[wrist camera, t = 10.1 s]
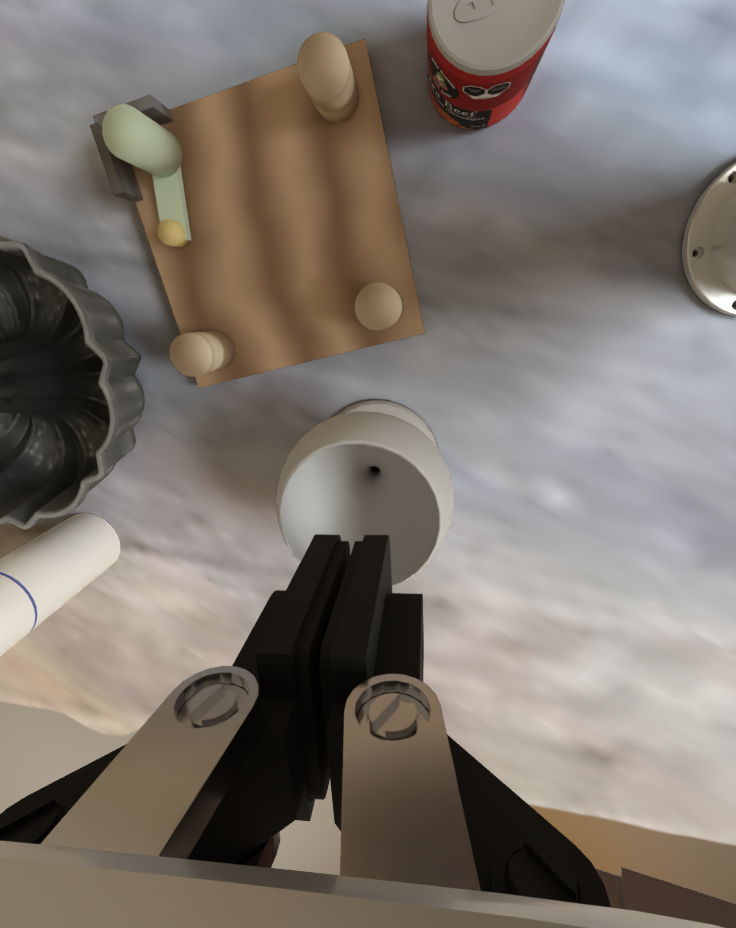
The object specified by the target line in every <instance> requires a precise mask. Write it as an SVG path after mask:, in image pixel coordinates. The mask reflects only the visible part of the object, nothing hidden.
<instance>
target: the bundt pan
mask: <svg viewBox="0 0 736 928" xmlns="http://www.w3.org/2000/svg"><path fill="white" fill-rule="evenodd" d="M140 359H141V356H140V354H139V353H138V352H136V351H135V350H134V349H133V348H132V347H131V346H130V345H128V344H127V343H126V342H125V341H124V327H123V323H122V321H121V318H120V316H119V314H118V313H117V311H116V310H115V308H114V307H113V306H112V305H111V304H110V303H109V302H108V301H107V300H106V299H104V298H103V297H102V296H100V295H99V294H97V293H95V292H93V291H91V290H89V289H88V286H87V283H86V280H85V278H84V276H83V275H82V273H81V272H80V271H79V270H78V269H77V268H75V267H73V266H72V265H70V264H67V263H64V262H62V261H59V260H56V259H53V258H50V257H47V256H44V255H42V254H41V253H39V252H38V251H36V250H34V249H32V248H30V247H29V246H28V245H27V244H25V243H21V242H17V241H12V240H9V239H6V238H4V237H1V236H0V525H1V524H4V523H10V524H13V525H15V526H17V527H19V528H21V529H25V530H26V529H30V528H31V527H33V526H34V525H35V524H36V523H37V522H38V521H39V520H40V519H41V518H46V519H49V518H57V517H61V516H63V515H66V514H67V513H69V512H71V511H72V510H74V509H75V508H77V507H78V506H79V505H80V504H81V503H82V501H83V500H84V498H85V497H86V494H87V493H88V492H89V491H90V490H91V489H92V488H94V487H95V486H96V485H97V484H98V483H100V482H101V481H102V480H103V479H104V478H105V477H106V476H108V475H109V473H110V472H111V471H112V470H113V468H114V466H115V464H116V462H117V461H119V460H120V459H121V458H123V457H124V456H125V455H126V454H128V453H129V452H130V451H131V450H132V449H133V448H134V446H135V442H136V439H135V434H134V430H133V426H134V425H135V424H136V423H137V422H138V420H139V418H140V417H141V415H142V412H143V409H144V392H143V389H142V386H141V384H140V382H139V381H138V379H137V378H136V377H135V372H136V370H137V367H138V364H139V362H140Z"/></svg>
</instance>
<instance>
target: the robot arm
mask: <svg viewBox="0 0 736 928" xmlns="http://www.w3.org/2000/svg"><path fill="white" fill-rule="evenodd" d="M728 177H730V179H731V181H730V183H729V181H728ZM693 250H694V251H695V256H694V257H693V255H692V253H693ZM682 261H683V266H684V271H685V275H686V277H687V279H688V282H689V284H690V286H691V288H692V289H693V291H694V292H695V293H696V294H697V296H698V297H699V298H700V299H701V300H702V301H703V302H705V303H706V304H707V305H708V306H709V307H711V308H713V309H715V310H717V311H719V312H721V313H724V314H728V315H732V316H736V162H735V163H734V164H732V165H731V166H729V167H728V168H726V169H725V170H724V171H723V172H722V173H721V174H720V175H719V176H718V177H716V178H715V179H714V180H713V181H712V182H711V183H710V185H709V186H708V187H707V188H706V190H705V191H704V192H703V194H702V195H701V196H700V198H699V199H698V201H697V203H696V205H695V206H694V208H693V210H692V212H691V214H690V217H689V220H688V222H687V225H686V228H685V232H684V238H683V243H682ZM733 302H734V306H733V307H732V303H733ZM423 661H424V637H423V595H422V594H401V593H392V575H391V551H390V537H389V535H364V538H363V541H355V543H354V546H353V549H352V552H351V555H350V544H349V541H341V537H340V535H327V534H315V535H314V537H313V539H312V541H311V543H310V545H309V547H308V549H307V551H306V553H305V555H304V557H303V558H302V560H301V562H300V564H299V566H298V568H297V570H296V572H295V574H294V576H293V578H292V580H291V582H290V584H289V586H288V588H287V590H286V591H279V590H277V591H274V592H273V594H272V595H271V596H270V598H269V600H268V602H267V604H266V606H265V607H264V609H263V611H262V613H261V615H260V616H259V618H258V620H257V622H256V624H255V626H254V627H253V629H252V631H251V633H250V635H249V636H248V638H247V640H246V642H245V644H244V646H243V647H242V649H241V651H240V653H239V655H238V656H237V658H236V660H235V662H234V664H233V666H220V667H214V668H209V669H207V670H204V671H201V672H199V673H196V674H194V675H193V676H191V677H189V678H188V679H186V680H184V681H183V682H182V683H181V684H180V685H179V686H178V687H176V688H175V689H174V690H173V691H172V692H171V694H170V695H169V696H168V697H167V698H166V699H165V701H164V702H163V703H162V704H161V705H160V706H159V707H158V709H157V710H156V711H155V712H154V713H153V714H152V716H151V717H150V718H149V719H148V720H147V721H146V723H145V724H144V725H143V726H142V727H141V728H140V729H139V731H138V732H137V733H136V734H135V735H134V736H133V738H132V739H131V740H130V741H129V742H128V743H127V744H126V745H124V746H122V747H120V748H118V749H116V750H115V751H113V752H111V753H109V754H107V755H105V756H103V757H101V758H99V759H97V760H95V761H93V762H91V763H90V764H88V765H86V766H84V767H82V768H80V769H78V770H76V771H74V772H72V773H70V774H68V775H66V776H65V777H63V778H61V779H59V780H57V781H55V782H53V783H51V784H49V785H48V786H45V787H43V788H41V789H40V790H38V791H36V792H34V793H32V794H30V795H28V796H26V797H25V798H23V799H21V800H20V801H18V802H17V803H15V804H14V805H12V806H10V807H9V808H7V809H6V810H5V811H4V812H3V813H1V814H0V928H736V904H734V903H731V902H728V901H725V900H722V899H719V898H716V897H713V896H710V895H706V894H703V893H700V892H697V891H694V890H691V889H688V888H684V887H682V886H679V885H675V884H672V883H669V882H666V881H663V880H660V879H657V878H654V877H651V876H647V875H644V874H641V873H638V872H635V871H632V870H629V869H626V868H623V867H621V871H620V876H617V875H613V874H610V873H608V872H604V871H602V870H598V869H595V868H594V866H593V864H592V863H591V862H590V861H589V859H588V858H587V857H586V856H585V855H584V854H583V853H582V852H581V851H580V850H579V849H578V848H577V847H576V846H575V845H574V844H573V843H572V842H571V841H570V840H569V839H567V838H566V837H565V836H564V835H563V834H562V833H560V832H559V831H558V830H557V829H556V828H555V827H554V826H552V825H551V824H550V823H549V822H548V821H547V820H545V819H544V818H543V817H542V816H541V815H540V814H538V813H537V812H536V811H535V810H534V809H533V808H532V807H530V806H529V805H528V804H527V803H526V802H525V801H523V800H522V799H521V798H520V797H519V796H518V795H516V794H515V793H514V792H513V791H512V790H511V789H510V788H508V787H507V786H506V785H505V784H504V783H503V782H501V781H500V780H499V779H498V778H497V777H496V776H494V775H493V774H492V773H491V772H490V771H489V770H488V769H486V768H485V767H484V766H483V765H482V764H481V763H479V762H478V761H477V760H476V759H475V758H474V757H473V756H471V755H470V754H469V753H468V752H467V751H466V750H464V749H463V748H462V747H461V746H460V745H459V744H457V743H456V742H455V741H454V740H453V739H452V738H451V737H449V736H448V735H447V732H446V728H445V723H444V719H443V714H442V709H441V705H440V703H439V700H438V698H437V696H436V694H435V693H434V692H433V691H432V689H431V688H430V687H429V686H428V685H427V684H425V683H423ZM329 780H331V791H332V801H333V811H334V821H335V824H336V825H337V827H338V828H339V829H340V831H341V857H340V875H330V874H321V873H313V872H303V871H294V870H284V869H275V868H271V867H272V864H273V862H274V860H275V857H276V855H277V851H278V848H279V844H280V831H281V830H282V829H284V828H285V827H286V826H288V825H289V824H290V823H292V822H293V821H294V820H303V821H310V819H311V815H312V810H313V806H314V802H315V799H325V797H326V793H327V789H328V785H329Z"/></svg>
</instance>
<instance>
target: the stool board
mask: <svg viewBox="0 0 736 928" xmlns="http://www.w3.org/2000/svg"><path fill="white" fill-rule="evenodd" d="M126 104H127V105H130V106H132V107H134V108H135V109H137V110H138V111H140V112H141V113H143V114H144V115H146V116H147V117H149V118H150V119H152V120H153V121H155V122H156V123H158V124H159V125H161V126H162V127H163V128H165V129H166V130H168V131H169V132H171V133H172V134H173V135H174V136H175V137H176V138H177V140H178V142H179V144H180V147H181V151H182V160H181V164H180V166H181V173H182V180H183V186H184V193H185V200H186V207H187V213H188V220H189V227H190V234H191V240H192V241H189V242H188V244H187V245H186V246H185V247H182V248H177V247H173V246H169V245H166V244H164V243H163V242H162V241H161V240H160V239H159V237H158V233H157V229H158V225H159V223H160V220H159V214H158V208H157V201H156V195H155V189H154V183H153V177H152V174H151V173H149V172H147V171H145V170H143V169H140V168H138V167H136V166H134V165H132V164H130V163H128V162H126V161H124V160H122V159H120V158H118V157H116V156H115V155H113V154H112V153H111V152H110V150H109V149H108V147H107V146H106V144H105V141H104V139H103V134H102V123H103V119H104V116H105V114H106V113H107V111H105V112H102V113H100V114H97V115H94V116H93V118H94V121H95V124H92V125H90V127H91V130H92V133H93V136H94V138H95V141H96V144H97V147H98V150H99V153H100V156H101V158H102V161H103V164H104V167H105V170H106V173H107V176H108V178H109V181H110V184H111V187H112V190H113V193H114V195H116V196H119V197H122V198H124V199H127V200H130V201H133V202H136V205H137V208H138V211H139V214H140V217H141V220H142V223H143V226H144V229H145V232H146V235H147V238H148V240H149V243H150V246H151V249H152V252H153V255H154V258H155V261H156V264H157V267H158V270H159V273H160V276H161V279H162V281H163V284H164V287H165V290H166V293H167V296H168V299H169V302H170V305H171V308H172V311H173V314H174V317H175V320H176V323H177V325H178V328H179V331H180V334H181V335H179V336H177V337H176V338H175V339H174V340H173V341H172V343H171V345H170V350H169V355H170V359H171V362H172V364H173V366H174V367H175V368H176V369H177V370H178V371H179V372H180V373H182V374H183V375H186V376H190V377H195V378H196V381H197V384H198V387H199V388H201V387H205V386H209V385H214V384H218V383H222V382H226V381H230V380H234V379H238V378H242V377H246V376H250V375H255V374H259V373H263V372H267V371H271V370H275V369H279V368H283V367H287V366H292V365H296V364H300V363H304V362H308V361H312V360H316V359H320V358H324V357H328V356H333V355H337V354H341V353H345V352H349V351H353V350H357V349H361V348H365V347H370V346H374V345H378V344H382V343H386V342H390V341H394V340H398V339H402V338H406V337H411V336H415V335H419V334H423V333H425V331H424V326H423V321H422V316H421V311H420V306H419V301H418V296H417V291H416V286H415V281H414V277H413V272H412V267H411V262H410V257H409V252H408V247H407V242H406V237H405V232H404V227H403V222H402V217H401V212H400V207H399V202H398V198H397V193H396V188H395V183H394V178H393V173H392V168H391V163H390V158H389V153H388V148H387V143H386V138H385V133H384V128H383V123H382V119H381V114H380V109H379V104H378V99H377V94H376V89H375V84H374V79H373V74H372V69H371V64H370V59H369V54H368V50H367V46H366V41H365V39H363V40H360V41H358V42H355V43H352V44H349V45H347V46H344V45H343V43H342V42H341V41H340V40H339V39H338V38H337V37H336V36H335V35H333V34H330V33H327V32H319V33H316V34H313V35H312V36H310V37H309V38H308V39H307V40H306V41H305V42H304V43H303V45H302V46H301V48H300V51H299V54H298V59H297V64H295V65H292V66H289V67H286V68H284V69H281V70H278V71H275V72H273V73H270V74H267V75H264V76H262V77H259V78H256V79H253V80H251V81H248V82H245V83H242V84H240V85H237V86H234V87H231V88H229V89H226V90H223V91H220V92H218V93H215V94H212V95H209V96H207V97H204V98H201V99H199V100H196V101H193V102H190V103H188V104H185V105H182V106H179V107H177V108H174V109H171V110H169V109H168V108H167V107H165V106H164V105H163V104H161V103H160V102H159V101H157V100H156V99H155V98H153V97H152V96H151V95H148V96H145V97H142V98H140V99H137V100H134V101H132V102H129V103H126Z"/></svg>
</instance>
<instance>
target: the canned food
mask: <svg viewBox="0 0 736 928" xmlns="http://www.w3.org/2000/svg"><path fill="white" fill-rule="evenodd" d="M564 3H565V0H428V5H427V60H428V88H429V92H430V96H431V100H432V102H433V104H434V106H435V108H436V109H437V111H438V112H439V113H440V115H441V116H442V117H443V118H444V119H446V120H447V121H448V122H449V123H451V124H453V125H455V126H457V127H460V128H464V129H480V128H485V127H489V126H491V125H493V124H495V123H498V122H499V121H500V120H502V119H503V118H505V117H506V116H507V115H508V114H509V113H511V112H512V111H513V110H514V109H515V107H516V106H517V105H518V103H519V102H520V101H521V99H522V98H523V96H524V94H525V92H526V90H527V88H528V86H529V83H530V81H531V79H532V77H533V75H534V73H535V71H536V68H537V66H538V64H539V62H540V60H541V58H542V56H543V54H544V51H545V49H546V47H547V45H548V43H549V41H550V39H551V36H552V34H553V32H554V30H555V27H556V25H557V23H558V20H559V18H560V15H561V12H562V9H563V6H564Z"/></svg>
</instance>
